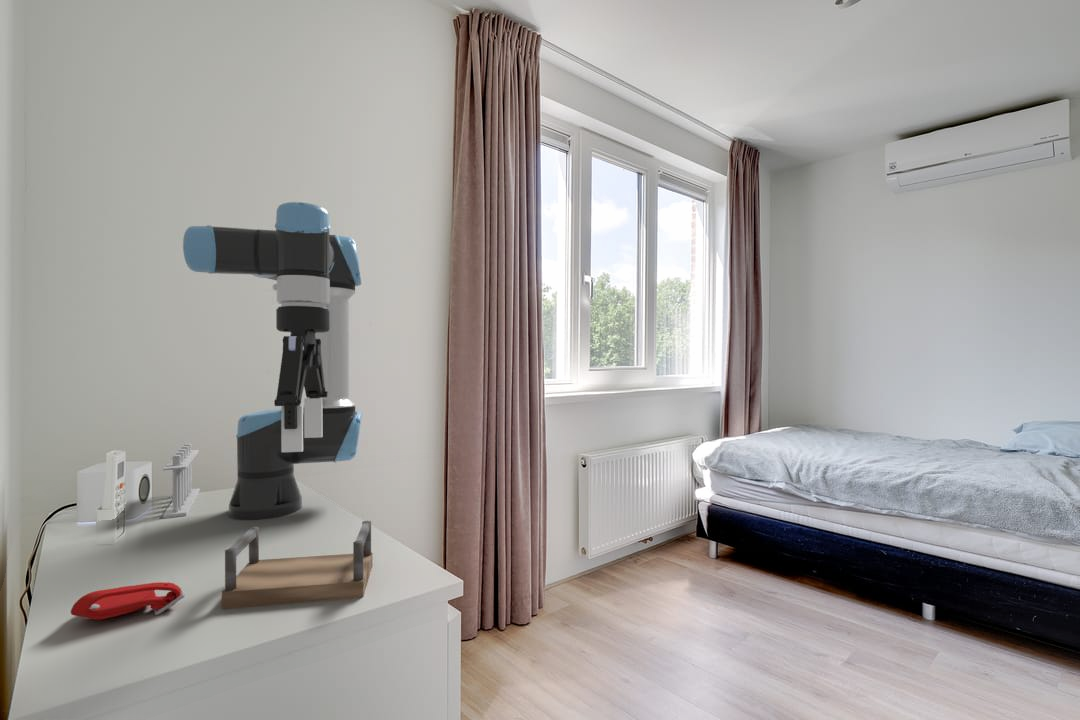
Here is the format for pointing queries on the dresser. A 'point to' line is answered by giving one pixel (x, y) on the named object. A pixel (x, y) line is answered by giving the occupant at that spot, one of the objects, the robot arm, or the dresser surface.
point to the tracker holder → (126, 600)
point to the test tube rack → (181, 482)
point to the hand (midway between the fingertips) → (303, 444)
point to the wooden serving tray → (295, 574)
